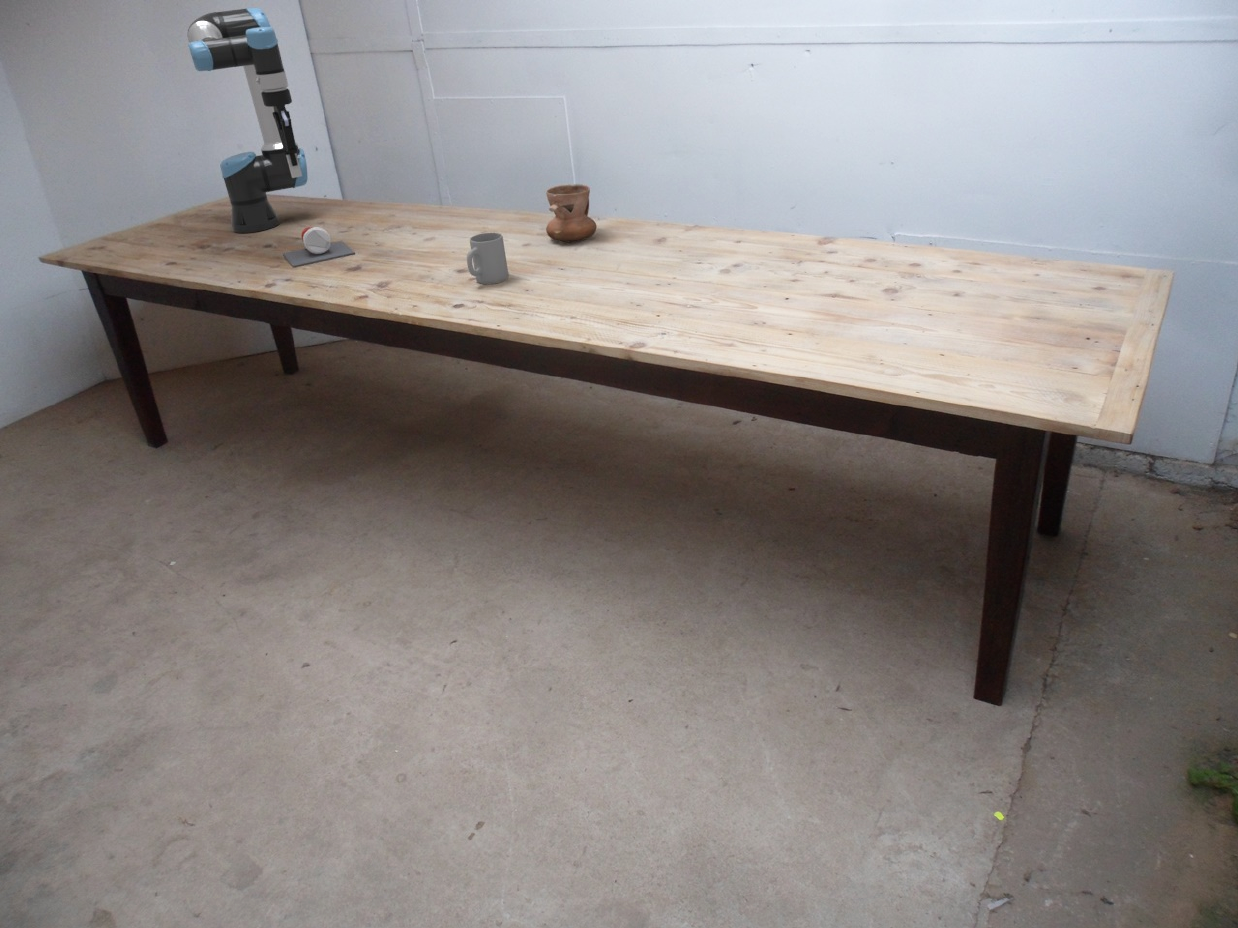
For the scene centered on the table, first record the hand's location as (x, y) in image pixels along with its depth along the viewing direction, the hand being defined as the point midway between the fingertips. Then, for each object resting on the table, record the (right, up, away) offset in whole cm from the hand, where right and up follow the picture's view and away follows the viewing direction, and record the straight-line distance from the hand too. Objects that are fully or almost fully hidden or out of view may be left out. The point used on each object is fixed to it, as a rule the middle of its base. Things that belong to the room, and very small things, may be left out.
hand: (297, 176), depth 262 cm
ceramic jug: (+80, -18, +1) cm, 82 cm away
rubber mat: (+3, -21, +9) cm, 22 cm away
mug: (+59, -36, -27) cm, 74 cm away
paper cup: (-1, -13, +15) cm, 20 cm away
